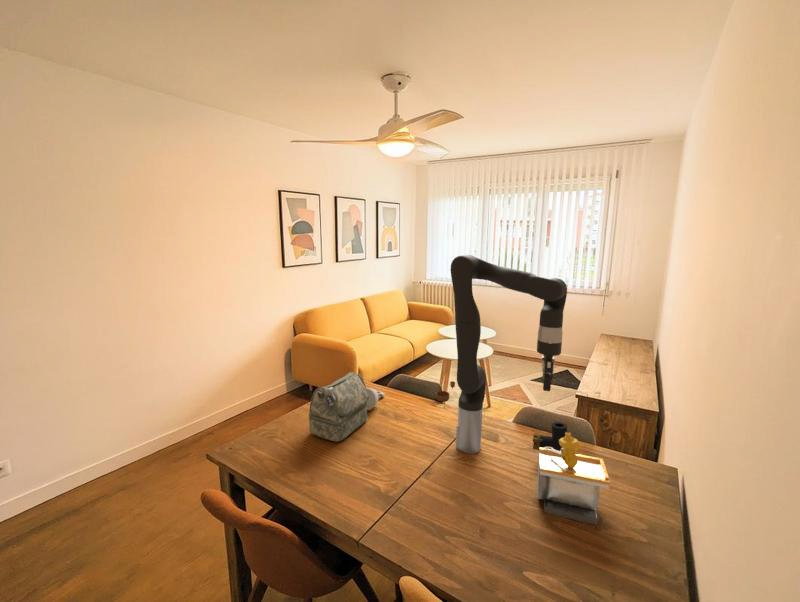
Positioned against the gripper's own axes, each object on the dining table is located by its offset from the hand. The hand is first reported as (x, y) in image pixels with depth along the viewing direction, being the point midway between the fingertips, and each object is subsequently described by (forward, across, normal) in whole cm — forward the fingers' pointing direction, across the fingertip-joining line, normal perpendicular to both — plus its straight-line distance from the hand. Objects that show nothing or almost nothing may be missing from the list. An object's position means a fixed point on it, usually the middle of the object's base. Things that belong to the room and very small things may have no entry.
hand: (546, 385), depth 123 cm
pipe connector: (+32, -8, +4) cm, 34 cm away
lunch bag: (+32, -4, -81) cm, 87 cm away
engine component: (+33, -30, -78) cm, 90 cm away
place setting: (+33, -49, -43) cm, 73 cm away
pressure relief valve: (+20, +13, +5) cm, 24 cm away
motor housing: (+32, +14, +8) cm, 36 cm away
